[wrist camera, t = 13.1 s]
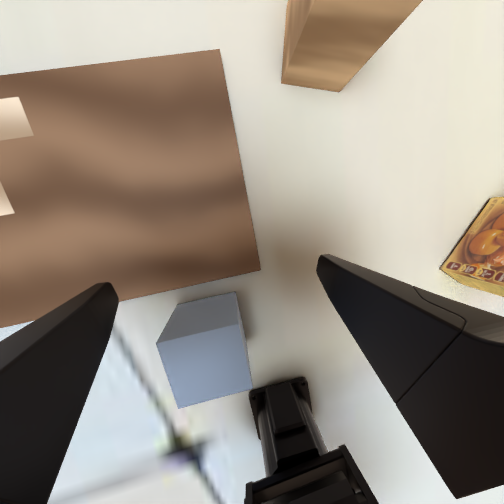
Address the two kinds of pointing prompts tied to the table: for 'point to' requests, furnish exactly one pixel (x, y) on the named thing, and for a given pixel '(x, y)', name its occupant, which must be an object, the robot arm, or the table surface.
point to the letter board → (119, 182)
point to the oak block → (336, 38)
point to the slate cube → (205, 350)
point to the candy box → (481, 252)
